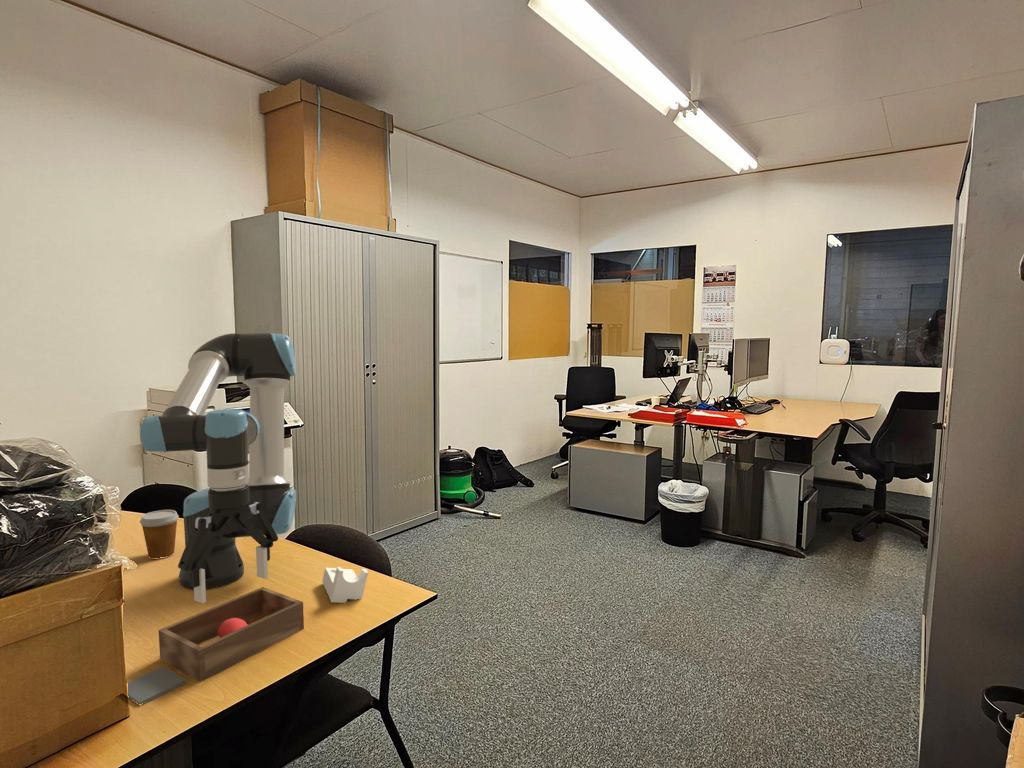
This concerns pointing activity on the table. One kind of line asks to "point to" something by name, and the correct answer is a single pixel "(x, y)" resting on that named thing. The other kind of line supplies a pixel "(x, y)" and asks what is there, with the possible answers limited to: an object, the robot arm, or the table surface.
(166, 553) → the disposable coffee cup
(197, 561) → the robot arm
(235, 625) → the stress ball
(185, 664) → the walnut box
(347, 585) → the bracket
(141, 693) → the slate mat
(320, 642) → the table surface
